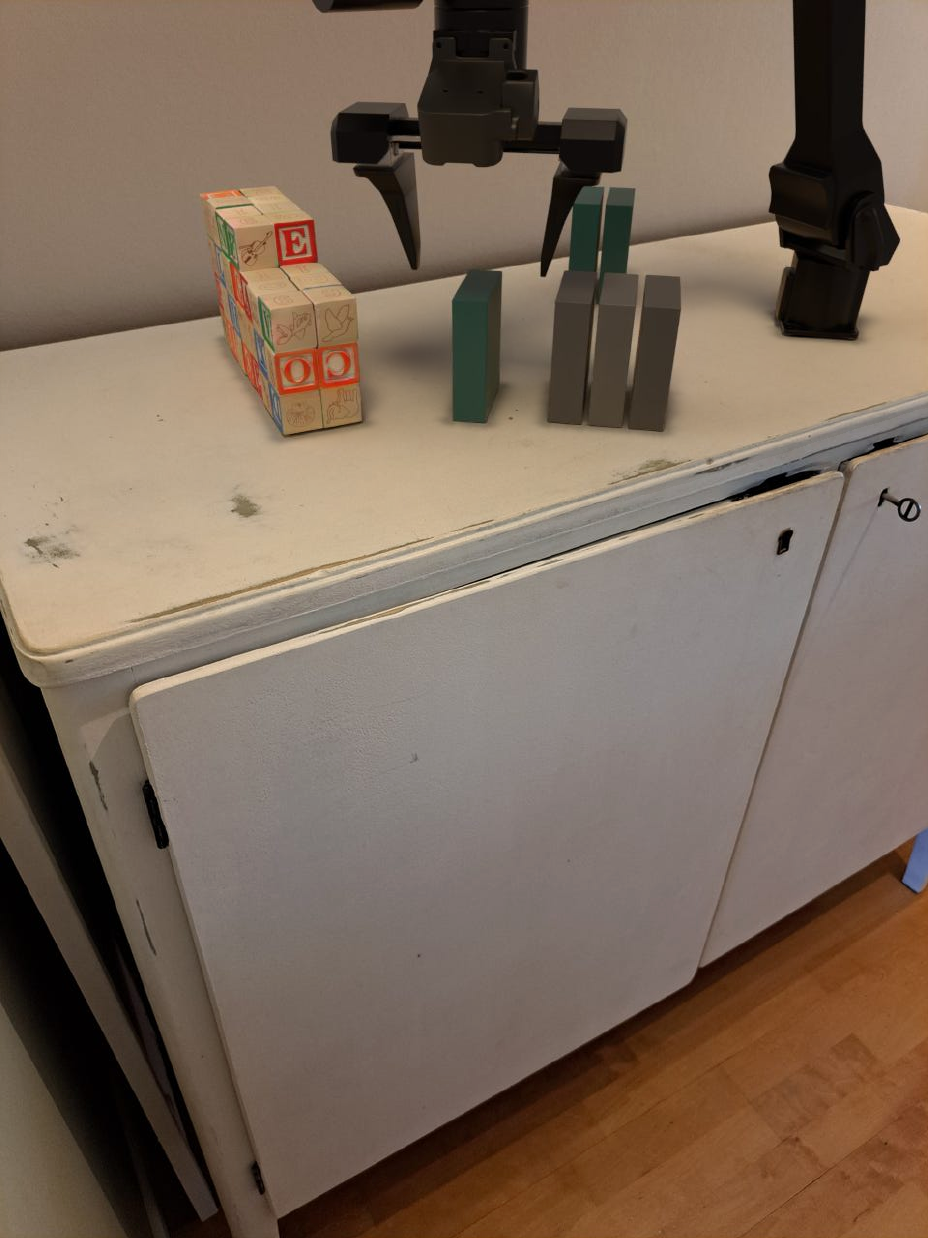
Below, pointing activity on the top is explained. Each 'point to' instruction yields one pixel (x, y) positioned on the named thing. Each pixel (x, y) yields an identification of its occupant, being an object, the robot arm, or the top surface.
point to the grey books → (613, 349)
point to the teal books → (589, 230)
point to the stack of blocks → (283, 309)
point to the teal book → (476, 344)
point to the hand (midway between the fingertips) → (479, 271)
